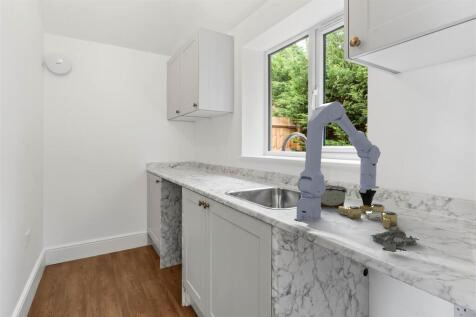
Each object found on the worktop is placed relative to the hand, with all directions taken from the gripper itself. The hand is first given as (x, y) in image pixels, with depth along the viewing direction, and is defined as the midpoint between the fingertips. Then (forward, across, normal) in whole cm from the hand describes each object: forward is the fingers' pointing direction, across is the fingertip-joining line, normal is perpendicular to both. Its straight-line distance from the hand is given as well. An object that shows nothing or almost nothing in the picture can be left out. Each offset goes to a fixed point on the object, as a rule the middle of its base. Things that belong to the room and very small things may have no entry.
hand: (367, 207), depth 102 cm
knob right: (+1, -16, -10) cm, 19 cm away
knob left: (+1, -14, +3) cm, 14 cm away
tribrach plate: (+2, -11, -5) cm, 12 cm away
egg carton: (+3, -31, -14) cm, 34 cm away
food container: (+2, -3, +14) cm, 14 cm away
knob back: (+1, -5, -3) cm, 5 cm away
